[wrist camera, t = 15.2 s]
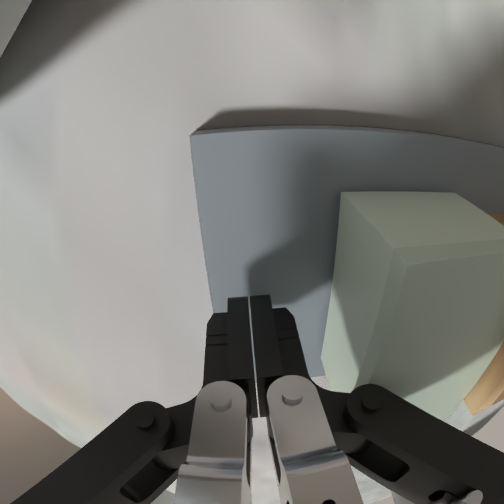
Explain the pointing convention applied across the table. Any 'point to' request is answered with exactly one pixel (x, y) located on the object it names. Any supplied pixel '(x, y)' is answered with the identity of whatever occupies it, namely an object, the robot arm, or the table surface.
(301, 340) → the board
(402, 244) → the block
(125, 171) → the table surface
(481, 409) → the sleeve
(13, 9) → the serving bowl
